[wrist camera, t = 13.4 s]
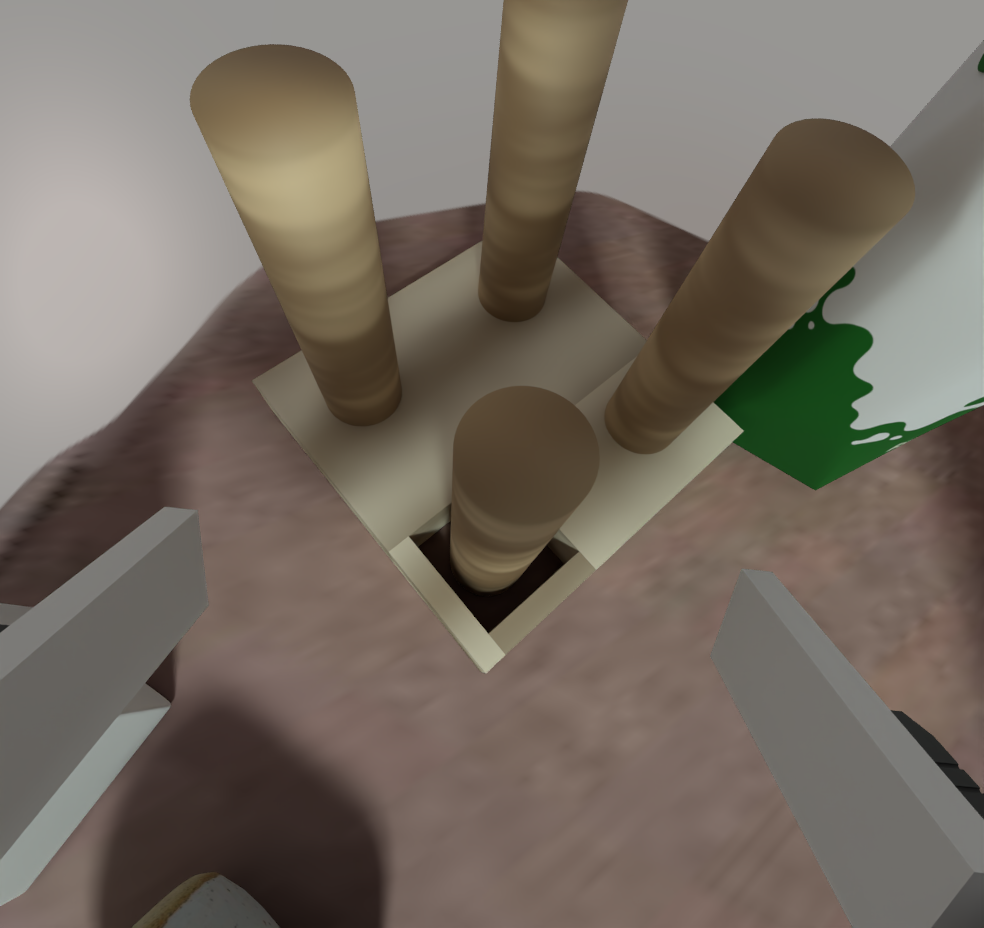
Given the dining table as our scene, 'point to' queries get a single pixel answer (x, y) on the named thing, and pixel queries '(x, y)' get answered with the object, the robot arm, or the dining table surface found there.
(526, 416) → the loose leg
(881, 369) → the soya milk
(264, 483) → the dining table surface
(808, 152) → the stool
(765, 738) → the robot arm
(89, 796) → the milk carton
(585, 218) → the dining table surface
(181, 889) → the ceramic mug
